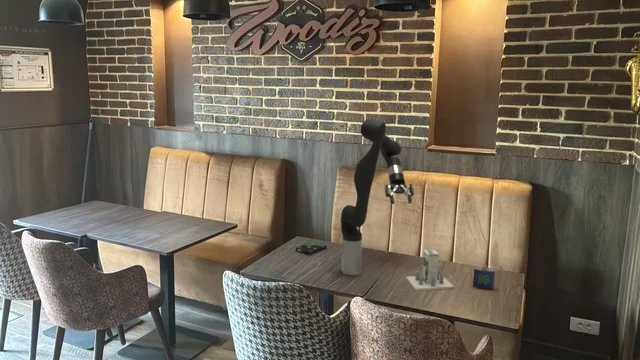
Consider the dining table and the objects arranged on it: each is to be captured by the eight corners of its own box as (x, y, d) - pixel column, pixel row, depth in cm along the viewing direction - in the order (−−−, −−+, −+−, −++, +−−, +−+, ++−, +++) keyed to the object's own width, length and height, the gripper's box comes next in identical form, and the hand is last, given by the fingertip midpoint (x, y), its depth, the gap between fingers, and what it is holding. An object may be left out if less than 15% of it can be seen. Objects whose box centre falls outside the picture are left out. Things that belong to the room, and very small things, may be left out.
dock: (415, 290, 235) (416, 279, 234) (405, 278, 249) (406, 267, 248) (453, 288, 238) (454, 277, 237) (441, 276, 251) (442, 265, 250)
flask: (493, 287, 239) (495, 265, 237) (494, 290, 236) (495, 268, 234) (472, 285, 242) (474, 263, 239) (472, 288, 239) (474, 265, 237)
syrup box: (421, 279, 246) (423, 249, 243) (433, 278, 246) (435, 249, 244) (425, 283, 240) (426, 253, 237) (437, 283, 241) (439, 253, 238)
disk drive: (309, 256, 278) (327, 249, 289) (309, 252, 278) (327, 244, 289) (295, 252, 285) (313, 245, 296) (295, 247, 284) (313, 240, 295)
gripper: (384, 172, 264) (389, 199, 255) (411, 171, 266) (417, 198, 257) (381, 180, 270) (386, 207, 261) (407, 179, 272) (413, 206, 263)
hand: (401, 203), depth 259 cm, fingers open, 8 cm apart
